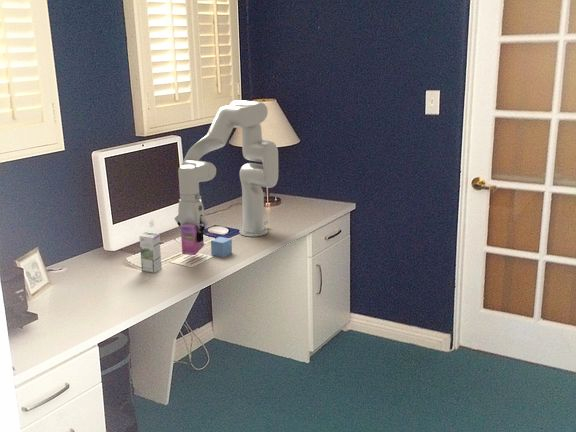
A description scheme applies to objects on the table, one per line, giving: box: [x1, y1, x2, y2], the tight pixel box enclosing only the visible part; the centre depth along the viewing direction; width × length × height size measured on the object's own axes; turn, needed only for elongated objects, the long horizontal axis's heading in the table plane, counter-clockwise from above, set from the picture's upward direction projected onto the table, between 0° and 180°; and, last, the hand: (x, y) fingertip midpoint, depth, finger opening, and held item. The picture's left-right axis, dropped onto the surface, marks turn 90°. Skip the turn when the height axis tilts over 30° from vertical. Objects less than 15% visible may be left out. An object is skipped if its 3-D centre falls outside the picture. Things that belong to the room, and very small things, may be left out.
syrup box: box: [139, 231, 162, 274], centre depth 255 cm, size 6×6×14 cm
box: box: [180, 223, 205, 255], centre depth 266 cm, size 10×6×12 cm, turn 168°
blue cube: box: [210, 236, 233, 258], centre depth 274 cm, size 6×6×6 cm
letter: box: [169, 252, 214, 268], centre depth 268 cm, size 14×11×1 cm
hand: (192, 239), depth 267 cm, fingers closed on box, 7 cm apart
